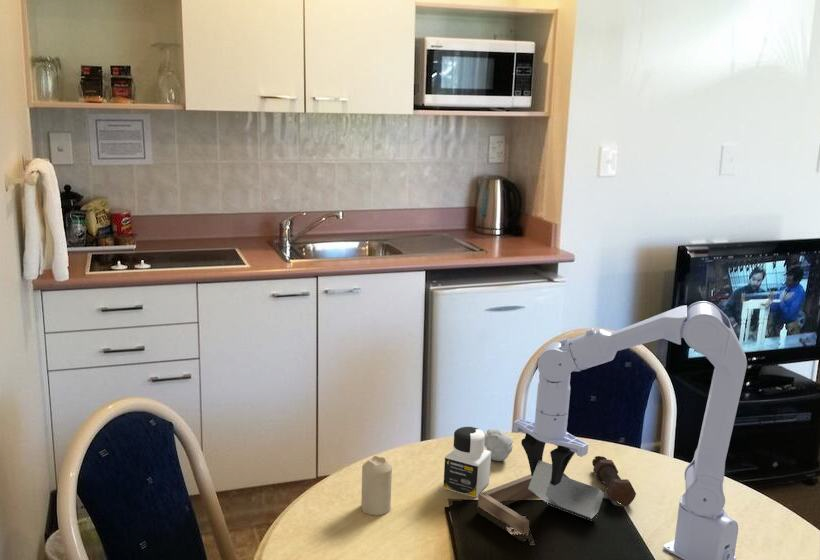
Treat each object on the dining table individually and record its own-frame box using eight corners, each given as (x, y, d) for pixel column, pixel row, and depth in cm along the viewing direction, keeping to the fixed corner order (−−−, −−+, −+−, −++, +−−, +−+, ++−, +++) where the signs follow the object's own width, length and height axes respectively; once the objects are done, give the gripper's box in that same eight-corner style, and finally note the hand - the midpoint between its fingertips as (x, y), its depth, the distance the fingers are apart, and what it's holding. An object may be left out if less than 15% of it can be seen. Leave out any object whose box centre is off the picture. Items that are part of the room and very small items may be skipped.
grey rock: (476, 455, 168) (478, 425, 166) (506, 452, 170) (508, 423, 168) (486, 468, 162) (487, 437, 161) (517, 465, 164) (519, 434, 163)
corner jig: (594, 511, 147) (596, 492, 146) (523, 543, 135) (524, 522, 134) (547, 485, 156) (549, 467, 155) (477, 513, 145) (478, 493, 144)
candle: (364, 517, 142) (365, 467, 139) (358, 502, 147) (359, 454, 145) (393, 514, 143) (395, 464, 141) (386, 499, 148) (388, 451, 146)
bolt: (601, 478, 164) (624, 513, 149) (581, 466, 163) (603, 500, 149) (616, 456, 163) (641, 489, 148) (597, 444, 162) (620, 476, 148)
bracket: (576, 506, 134) (586, 476, 136) (528, 488, 139) (538, 459, 141) (594, 521, 143) (604, 493, 145) (548, 504, 149) (558, 477, 150)
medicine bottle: (442, 488, 153) (445, 433, 150) (457, 474, 159) (460, 420, 156) (475, 498, 150) (479, 441, 147) (489, 483, 156) (493, 428, 153)
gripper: (599, 415, 136) (592, 485, 139) (530, 392, 145) (525, 458, 148) (578, 426, 131) (571, 499, 134) (508, 402, 140) (503, 470, 143)
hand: (545, 478), depth 141 cm, fingers closed on bracket, 4 cm apart
